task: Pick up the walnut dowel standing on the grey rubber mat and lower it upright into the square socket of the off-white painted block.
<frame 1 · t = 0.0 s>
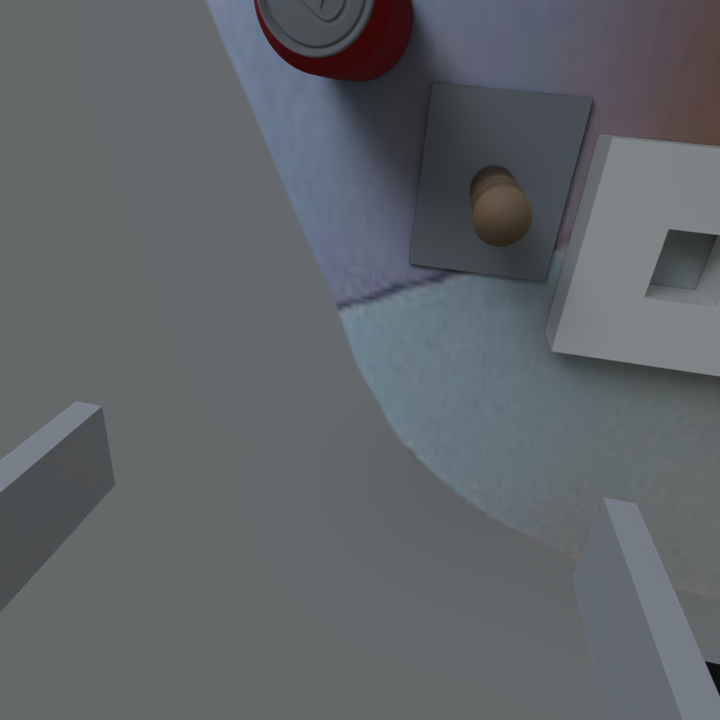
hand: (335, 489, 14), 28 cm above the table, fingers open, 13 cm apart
beverage can: (361, 22, 33), on the table
hole block: (673, 254, 36), on the table
mat: (491, 187, 36), on the table
peg: (492, 188, 35), resting on mat
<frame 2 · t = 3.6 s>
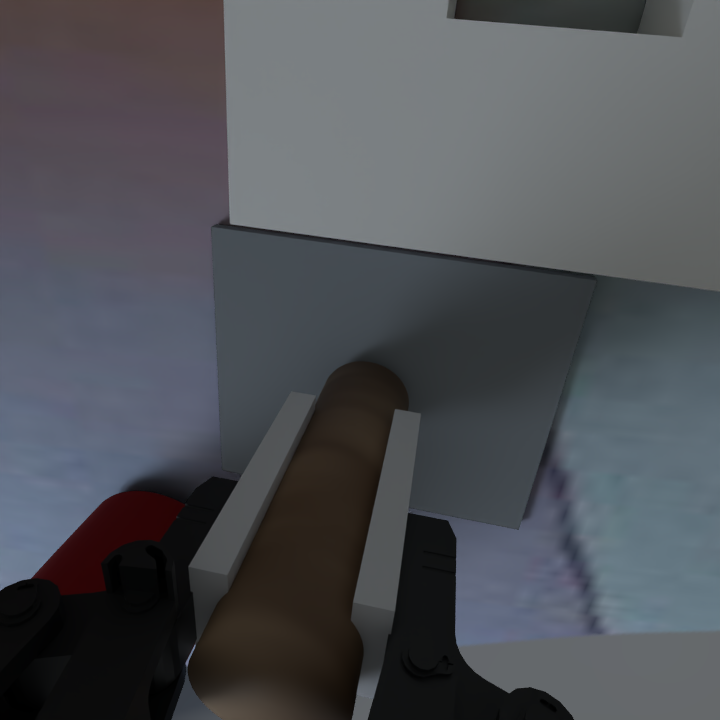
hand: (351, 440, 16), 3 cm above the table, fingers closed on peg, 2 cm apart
beverage can: (171, 532, 25), on the table
mat: (379, 385, 19), on the table
peg: (365, 400, 18), point 1 cm above the table, touching gripper
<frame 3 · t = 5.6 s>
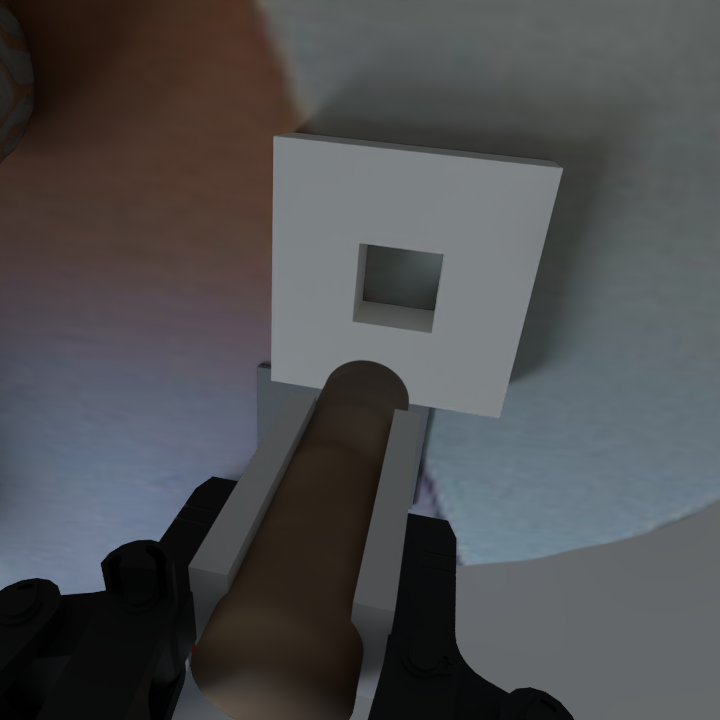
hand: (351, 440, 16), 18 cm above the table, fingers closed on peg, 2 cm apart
hole block: (402, 270, 31), on the table
mat: (338, 438, 37), on the table
peg: (365, 398, 18), point 15 cm above the table, touching gripper
when the fingers open (4 cm above the table, at t = 8.1 s): peg drops 2 cm, resting in hole block.
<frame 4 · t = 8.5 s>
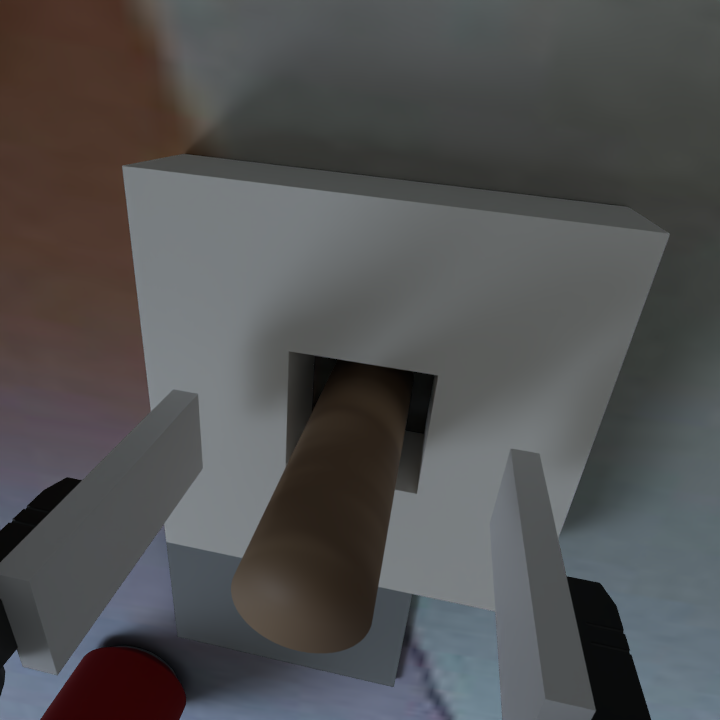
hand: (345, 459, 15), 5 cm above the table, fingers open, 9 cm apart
beverage can: (142, 668, 32), on the table
hole block: (372, 374, 19), on the table
mat: (287, 591, 26), on the table
peg: (373, 376, 19), resting in hole block
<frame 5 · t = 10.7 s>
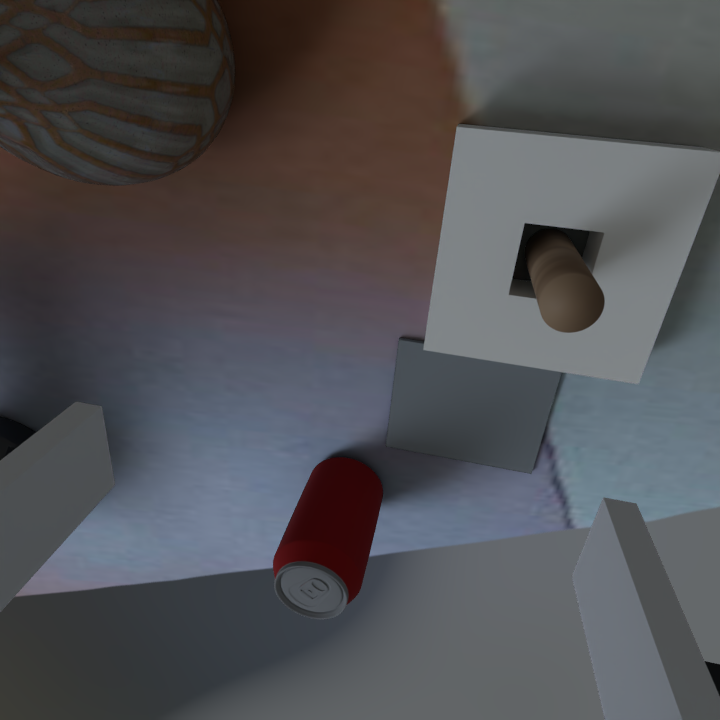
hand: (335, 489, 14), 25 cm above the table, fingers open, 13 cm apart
beverage can: (348, 480, 47), on the table
vase: (172, 62, 34), on the table
hole block: (547, 249, 34), on the table
mat: (467, 406, 41), on the table
peg: (548, 251, 34), resting in hole block
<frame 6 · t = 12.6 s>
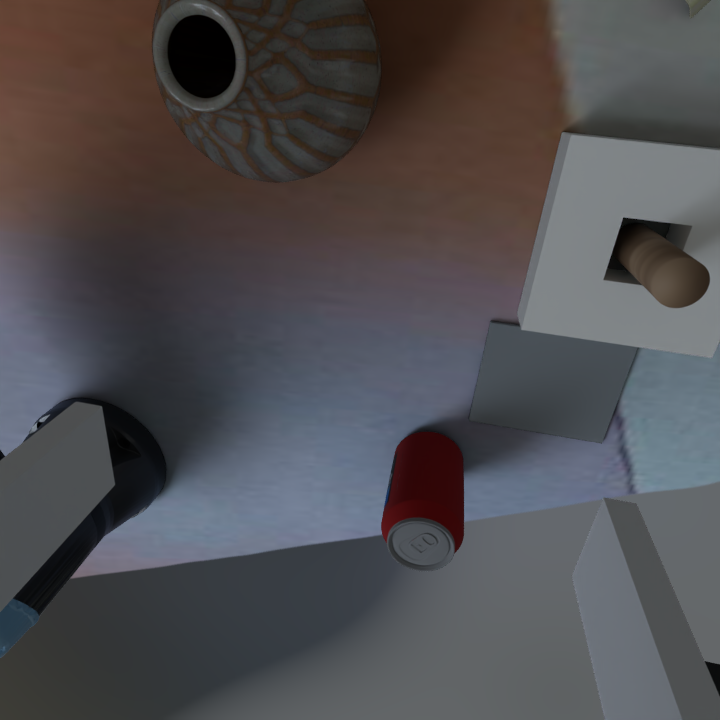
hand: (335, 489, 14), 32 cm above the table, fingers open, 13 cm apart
beverage can: (429, 453, 51), on the table
vase: (305, 74, 38), on the table
hole block: (631, 241, 39), on the table
mat: (547, 383, 46), on the table
peg: (631, 242, 39), resting in hole block
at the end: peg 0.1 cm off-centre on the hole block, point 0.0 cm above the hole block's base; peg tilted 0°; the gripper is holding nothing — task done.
